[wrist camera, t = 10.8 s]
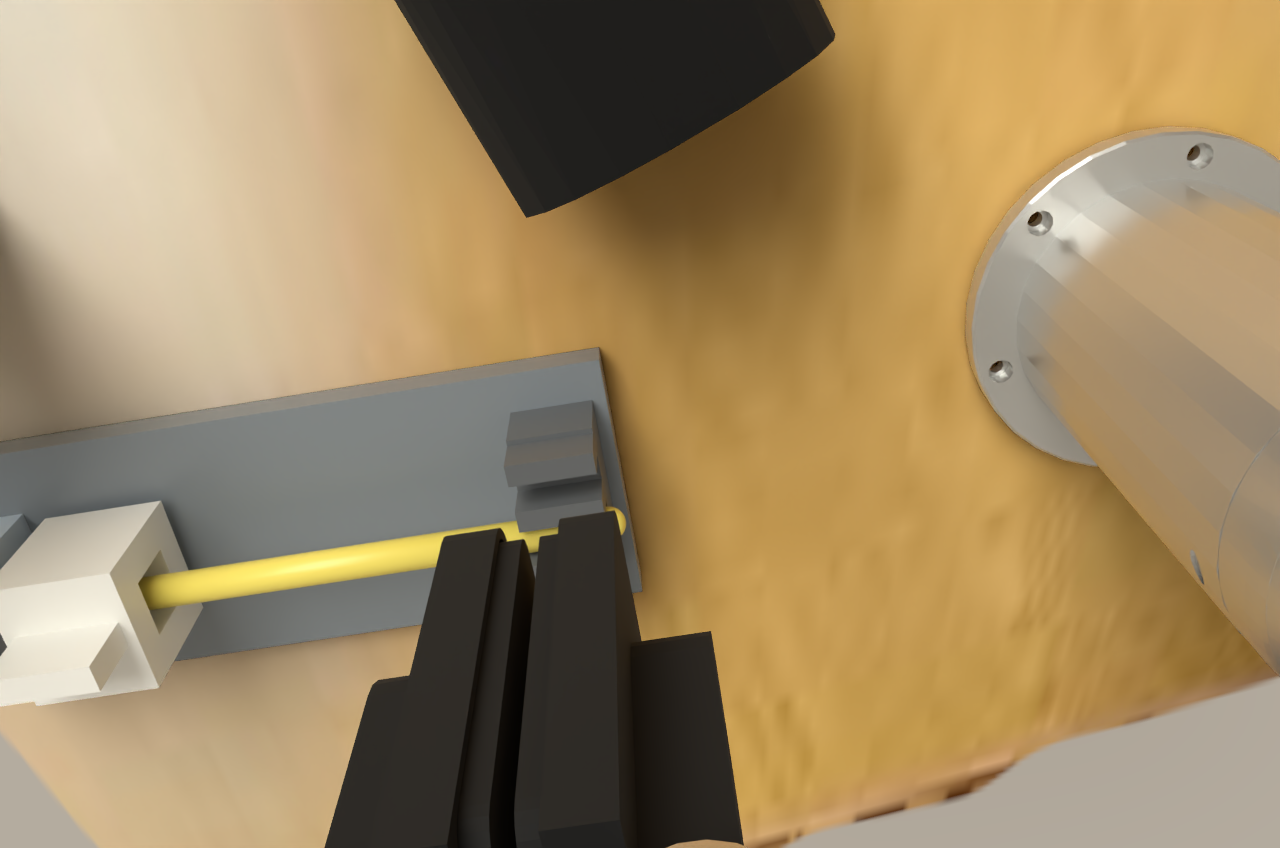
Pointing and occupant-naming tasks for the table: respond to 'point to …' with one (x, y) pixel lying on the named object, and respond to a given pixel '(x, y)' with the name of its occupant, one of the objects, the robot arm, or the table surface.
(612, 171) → the black cylinder
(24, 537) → the connector
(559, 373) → the board
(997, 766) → the table surface
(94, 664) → the sleeve
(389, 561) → the fibre cord
